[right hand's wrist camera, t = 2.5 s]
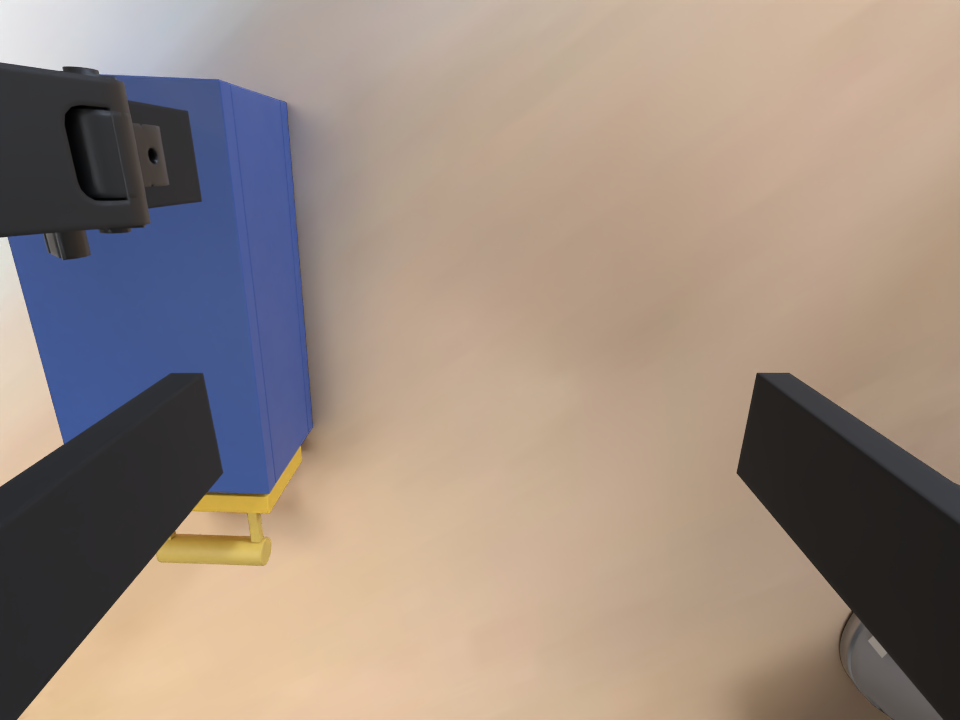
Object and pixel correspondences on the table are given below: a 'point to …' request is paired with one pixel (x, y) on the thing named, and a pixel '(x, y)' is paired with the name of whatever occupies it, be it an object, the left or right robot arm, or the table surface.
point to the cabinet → (190, 291)
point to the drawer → (230, 547)
